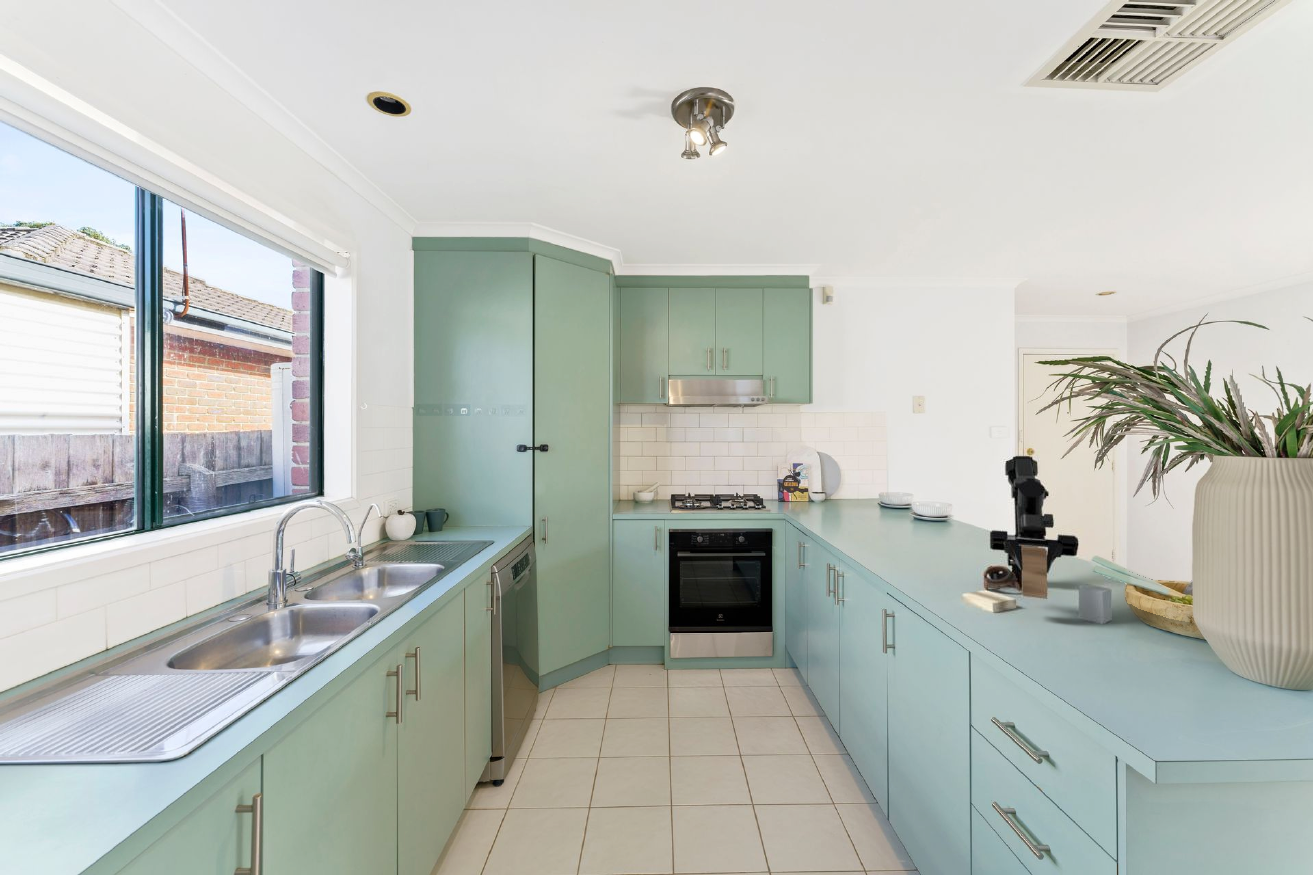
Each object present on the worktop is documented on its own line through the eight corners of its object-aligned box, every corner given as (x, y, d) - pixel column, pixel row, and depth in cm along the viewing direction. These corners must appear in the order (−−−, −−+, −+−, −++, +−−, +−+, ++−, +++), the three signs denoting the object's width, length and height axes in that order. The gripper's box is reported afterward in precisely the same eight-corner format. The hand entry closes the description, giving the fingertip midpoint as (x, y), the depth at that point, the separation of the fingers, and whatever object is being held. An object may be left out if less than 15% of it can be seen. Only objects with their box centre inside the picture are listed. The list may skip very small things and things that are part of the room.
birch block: (985, 600, 154) (985, 589, 154) (1016, 609, 145) (1016, 598, 145) (962, 604, 151) (962, 593, 151) (992, 614, 142) (992, 603, 142)
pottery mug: (1030, 595, 158) (1021, 573, 156) (999, 608, 159) (990, 587, 157) (1005, 574, 169) (996, 554, 167) (976, 587, 170) (967, 566, 169)
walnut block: (1021, 591, 139) (1021, 546, 138) (1045, 594, 136) (1044, 547, 136) (1023, 596, 135) (1022, 549, 135) (1047, 598, 133) (1046, 551, 132)
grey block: (1088, 614, 139) (1087, 584, 139) (1111, 620, 135) (1111, 588, 135) (1079, 618, 137) (1078, 587, 137) (1102, 624, 133) (1102, 592, 133)
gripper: (989, 500, 144) (991, 549, 134) (1076, 504, 134) (1085, 557, 125) (989, 524, 150) (990, 572, 141) (1072, 529, 141) (1079, 581, 131)
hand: (1034, 570), depth 134 cm, fingers closed on walnut block, 5 cm apart
